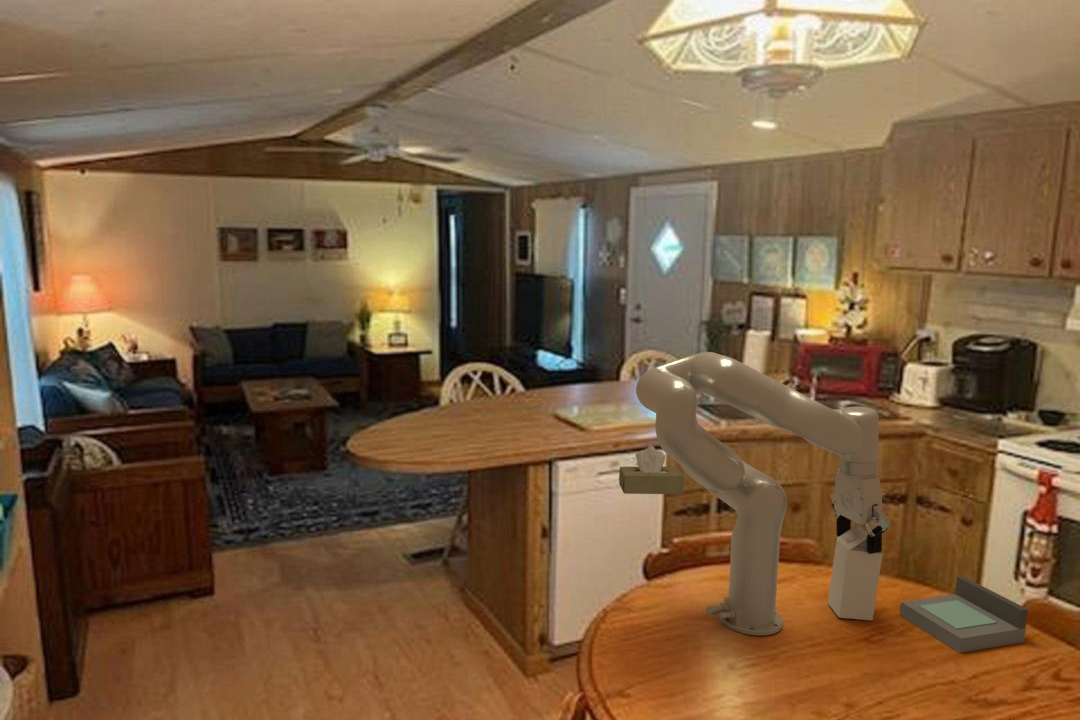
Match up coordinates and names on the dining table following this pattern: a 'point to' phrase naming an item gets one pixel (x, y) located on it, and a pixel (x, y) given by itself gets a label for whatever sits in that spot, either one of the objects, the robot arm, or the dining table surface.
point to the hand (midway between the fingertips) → (858, 543)
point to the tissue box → (650, 475)
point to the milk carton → (854, 576)
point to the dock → (968, 617)
